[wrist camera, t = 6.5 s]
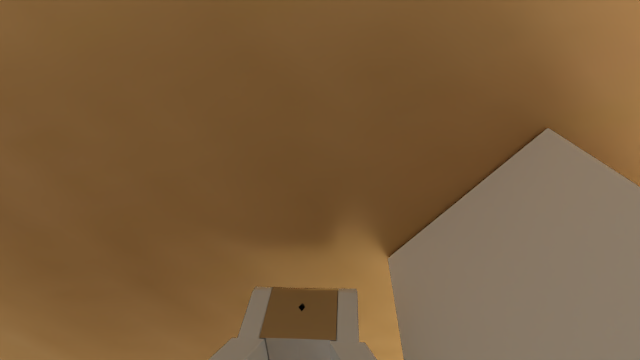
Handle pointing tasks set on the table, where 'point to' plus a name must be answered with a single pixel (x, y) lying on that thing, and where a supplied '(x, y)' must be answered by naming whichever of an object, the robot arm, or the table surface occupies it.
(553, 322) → the white cube
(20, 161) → the table surface
